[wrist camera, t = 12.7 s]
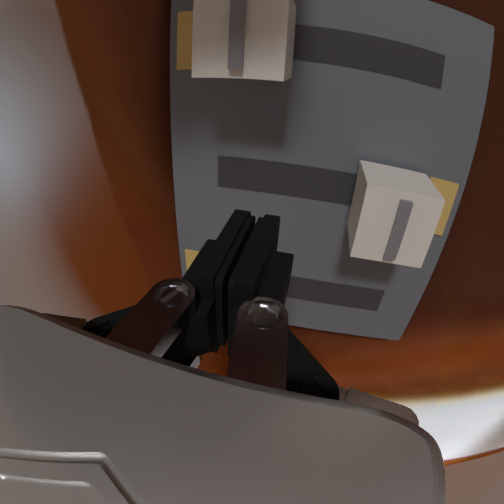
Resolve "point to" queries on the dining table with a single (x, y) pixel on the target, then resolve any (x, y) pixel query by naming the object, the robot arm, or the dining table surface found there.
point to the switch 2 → (393, 214)
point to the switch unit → (332, 145)
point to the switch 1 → (243, 39)
